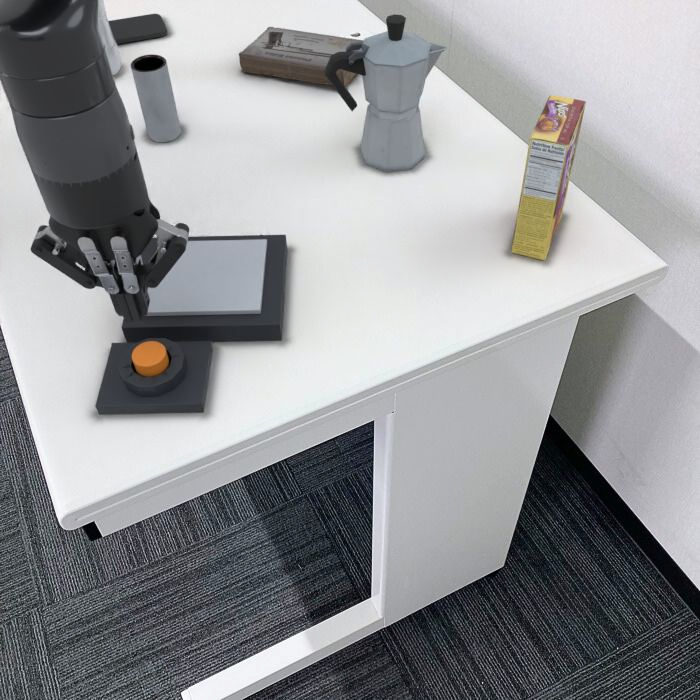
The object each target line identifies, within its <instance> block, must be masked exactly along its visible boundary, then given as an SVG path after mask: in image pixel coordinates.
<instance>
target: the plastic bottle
mask: <svg viewBox="0 0 700 700" xmlns="http://www.w3.org/2000/svg"><path fill="white" fill-rule="evenodd" d="M108 21H109V20H108V16H107V11H106V5H105V1H104V0H99V3H98V23H99V27H100V30H101V33H102V37H103V41H104V44H105V48H106V51H107V55H108V59H109V62H110V66H111V70H112V74H113V76H115V75H116V74H118V73H119V72H120V70H121V67H122V64H123V63H122V53H121V50H120V48H119V44H117V43H116V41H115V39H114V37H113V34H112V31H111V28H110V25H109V22H108Z"/></svg>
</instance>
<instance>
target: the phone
mask: <svg viewBox="0 0 700 700" xmlns="http://www.w3.org/2000/svg"><path fill="white" fill-rule="evenodd" d="M108 22H109V25H110V28H111V31H112V34H113V37H114V39H115V41H116V43H117V45H119V44H124V43H125V44H126V43H133V42H137V41H143V40H148V39H157V38H161V37H164V36H166V35H168V29H167V26H166V24H165V22H164V20H163V18H162V16H161V14H159V13H149V14H143V15H136V16H130V17H124V18H118V19H112V20H108Z"/></svg>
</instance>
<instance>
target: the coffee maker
mask: <svg viewBox="0 0 700 700" xmlns="http://www.w3.org/2000/svg"><path fill="white" fill-rule="evenodd" d="M406 20H407V17H405V16H404V15H403V14H394V13H393V14H390V15H388V16H387V17H386V19H385V23H386V30H387V31H384V32H381V33H377V34H373V35H370V36H368V37H365V38H364V39H363V40H364V41H363V43H361V42H356V43H351V44H350V45H349V46H348V47H347V48H346V52H337V53H335V54H333V55H331V57H330V59H329V61H328V64H327V66H326V68H325V70H324V73H325V75H326V77H327V78H328V80H329V81H330V82H331V84H332V85H333V88H334V89H335V91H336V92H337V93H338V95H339V96H340V97H341V99H342V100H343V102H344V103H345V104H346V106H347V107H348V109H349V110H350V112H353V111H354V110H355V109H357V107H358V103H357V101H356V100H355V98H354V97H353V95H352V94H351V93H350V91H349V90H348V88H347V86H346V87H345V86H344V85H343V83H342V82H341V80H340V79H339V78H338V76H337V75H336V72H337V70H345V71H348V72H352V73H356V74H357V75H359V76H361V78H362V84H363V91H364V99H365V101H366V102H367V103H369V104H367V106H366V113H365V119H364V124H363V130H362V135H361V142H360V147H359V150H360V154H361V157H362V160H363V164H364V165H366V166H369V167H371V168H374V169H376V170H379V171H381V172H384V173H391V172H392V173H393V172H400V171H410V170H413V169H414V168H415V167H416V166H417V165H418V164H419V163H420V162H421V161H422V160H423V159H425V157H426V153H425V144H424V143H425V142H424V135H423V125H422V115H421V110H420V106H419V105H420V101H421V100H420V99H421V97H422V96H423V92H424V88H425V84H426V80H427V78H428V76H429V75H430V73H431V71H432V69H433V68H434V66H435V64H436V63H437V61H438V59H440V56H441V55H442V53H443V52H445V51H447V50H448V47H447V46H443V45H440V44H437V43H432V42H429V41H428V40H425V39H424V38H422V37H421V36H420V35H418V34H417V33H415V32H414V33H413V32H404V30H405V26H406V22H407V21H406ZM355 50H359V51H355ZM332 85H331V86H332Z"/></svg>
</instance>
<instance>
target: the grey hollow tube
mask: <svg viewBox="0 0 700 700" xmlns="http://www.w3.org/2000/svg"><path fill="white" fill-rule="evenodd" d="M130 69H131V74H132V77H133V81H134V84H135V89H136V93H137V98H138V101H139V105H140V110H141V113H142V117H143V121H144V125H145V129H146V134H147V136H148V138H149V139H150V140H151V141H153V142H156V143H169V142H172V141H174V140H176V139H178V138H179V137H180V135H181V133H182V128H181V123H180V118H179V114H178V109H177V103H176V99H175V95H174V91H173V86H172V81H171V75H170V71H169V67H168V61H167V59H166V58H165V57H164V56H162V55H159V54H144V55H140V56H138V57H136V58H134V59H133V60H132V62H130Z"/></svg>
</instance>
